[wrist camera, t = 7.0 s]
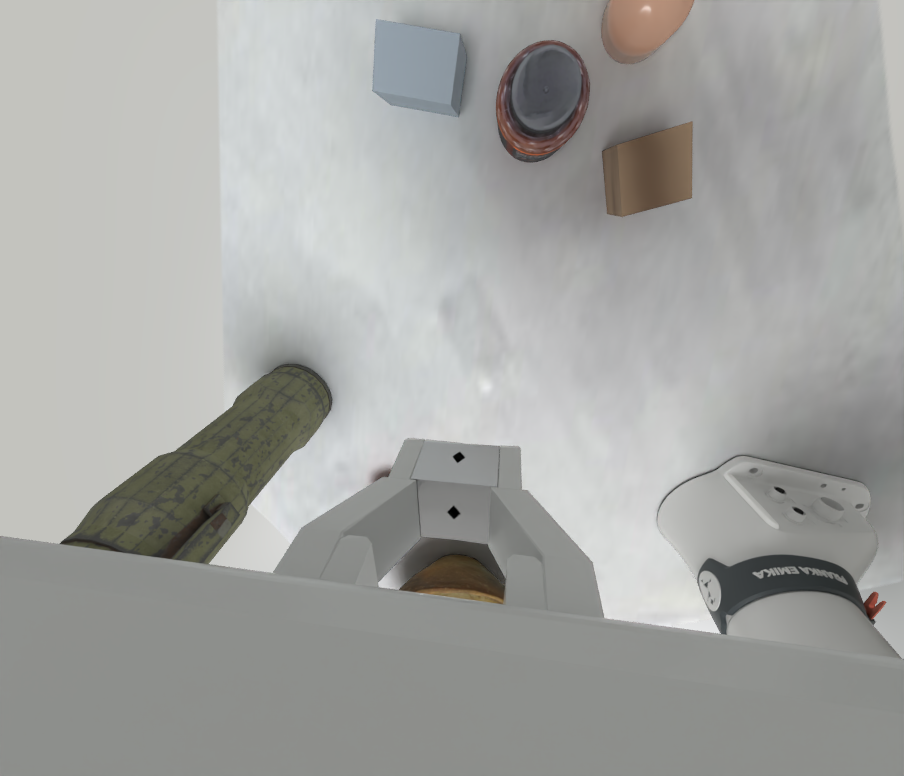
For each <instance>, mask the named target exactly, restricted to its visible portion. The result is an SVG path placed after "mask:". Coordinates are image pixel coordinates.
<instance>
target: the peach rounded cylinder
mask: <svg viewBox="0 0 904 776" xmlns="http://www.w3.org/2000/svg"><path fill="white" fill-rule="evenodd" d="M693 2H694V0H609V2H608V4H607V6H606V9H605V12H604V15H603V19H602V27H601V35H602V41H603V45H604V47H605V50H606V51H607V53H608V54H609V55H610V57H611V58H613V59H614V60H615V61H617V62H619V63H623V64H634V63H638V62H640V61H642V60H644V59H646V58H648V57H649V56H650V55H652V54H653V53H654V52H655V51H656V50H657V49H658V48H659V47H660V46H661V45H662V44H663V43H664V42H665V41H666V40H667V39H668V38H669V37H670V36H671V35H672V34H673V33H674V32H676V31H677V29H678V28H679V27H680V26H681V25H682V23H683V22H684V21H685V19H686V17H687V16H688V14H689V12H690V10H691V8H692V5H693Z"/></svg>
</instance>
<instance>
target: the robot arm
mask: <svg viewBox="0 0 904 776" xmlns="http://www.w3.org/2000/svg"><path fill="white" fill-rule="evenodd" d="M499 453H500V454H499ZM752 468H753V469H752ZM498 471H499V472H498ZM870 505H871V496H870V492H869V490H868V488H867V487H866V486H865V485H864V484H862V483H860V482H857V481H853V480H849V479H844V478H840V477H836V476H831V475H827V474H823V473H818V472H814V471H809V470H805V469H801V468H796V467H792V466H788V465H783V464H779V463H774V462H770V461H766V460H761V459H757V458H752V457H748V456H739V457H736V458H733V459H732V460H730V461H728V462H727V463H725V464H724V465H723V466H721V467H720V468H718V469H717V470H715V471H713V472H711V473H708V474H705V475H702V476H699V477H697V478H694V479H692V480H690V481H688V482H686V483H684V484H682V485H681V486H679V487H678V488H677V489H675V490H674V491H673V492H672V493H671V494H670V495H669V496H668V497H667V498H666V499H665V500H664V502H663V503H662V505H661V507H660V509H659V512H658V517H657V523H658V528H659V530H660V532H661V534H662V535H663V537H664V538H665V539H666V540H667V541H668V542H669V543H670V544H671V545H672V546H673V548H674V549H675V550H676V551H677V553H678V554H679V555H680V556H681V558H682V559H683V561H684V562H685V563H686V565H687V566H688V568H689V569H690V571H691V572H692V574H693V576H694V577H695V579H696V580H697V583H698V586H699V589H700V591H701V594H702V596H703V599H704V601H705V603H706V606H707V608H708V610H709V612H710V614H711V616H712V618H713V620H714V622H715V624H716V625H717V627H718V629H719V631H720V633H721V634H716V633H710V632H702V631H695V630H688V629H680V628H673V627H666V626H658V625H651V624H644V623H636V622H629V621H622V620H614V619H607V618H604V614H603V609H602V605H601V600H600V595H599V591H598V586H597V581H596V576H595V572H594V567H593V562H592V561H591V560H590V559H589V558H588V557H587V556H586V555H585V553H584V552H583V551H582V550H581V549H580V548H579V547H578V546H577V545H576V543H575V542H574V541H573V540H572V539H571V538H570V537H569V536H568V535H567V533H566V532H565V531H564V530H563V529H562V528H561V527H560V526H559V525H558V523H557V522H556V521H555V520H554V519H553V518H552V517H551V516H550V515H549V513H548V512H547V511H546V510H545V509H544V508H543V507H542V506H541V505H540V503H539V502H538V501H537V500H536V499H535V498H534V497H533V496H532V495H531V493H530V492H529V491H528V490H522V479H521V448H520V447H519V446H501V445H500V446H492V445H478V444H464V443H457V442H447V441H437V440H427V439H426V440H425V439H415V438H407V439H406V440H405V441H404V443H403V445H402V447H401V450H400V452H399V454H398V456H397V459H396V461H395V463H394V465H393V468H392V470H391V472H390V474H389V476H388V477H382V478H380V479H378V480H377V481H375V482H374V483H372V484H371V485H369V486H367V487H366V488H364V489H363V490H361V491H359V492H358V493H356V494H355V495H353V496H351V497H350V498H348V499H347V500H345V501H343V502H342V503H340V504H339V505H337V506H335V507H334V508H332V509H331V510H329V511H327V512H326V513H324V514H323V515H321V516H319V517H318V518H316V519H315V520H313V521H312V522H310V523H308V524H307V525H305V526H304V527H302V528H301V530H300V531H299V533H298V534H297V536H296V537H295V539H294V540H293V542H292V544H291V545H290V547H289V549H288V550H287V551H286V553H285V555H284V556H283V558H282V559H281V561H280V562H279V564H278V565H277V567H276V569H275V570H274V572H273V573H269V572H261V571H254V570H247V569H239V568H232V567H225V566H217V565H210V564H203V563H195V562H188V561H181V560H173V559H166V558H159V557H151V556H144V555H137V554H129V553H122V552H114V551H107V550H100V549H92V548H85V547H78V546H70V545H63V544H55V543H48V542H40V541H33V540H26V539H19V538H11V537H4V536H0V776H904V659H902V658H901V657H900V656H899V654H898V653H897V652H896V651H895V650H894V649H893V648H892V646H890V644H889V643H888V642H887V641H886V640H885V638H884V637H883V636H882V635H881V634H880V633H879V631H878V630H877V629H876V628H875V627H874V626H873V625H874V624H875V621H874V619H873V618H874V617H875V616H876V615H877V614H878V612H879V611H880V610H881V609H882V608H883V606H884V605H885V603H886V602H885V601H882V602H880V603H879V604H878V605H877V606H875V604H876V603H877V599H878V593H877V592H873V593H872V594H871V595H870V596H869V598H868V599H867V600H866V601H865V602H864V604H863V601H862V598H861V596H860V593H859V590H858V588H857V586H856V585H857V584H858V583H859V581H860V580H861V578H862V577H863V576H864V574H865V573H866V571H867V570H868V568H869V566H870V565H871V563H872V562H873V560H874V557H875V555H876V552H877V549H878V539H877V535H876V533H875V531H874V529H873V527H872V526H871V525H870V523H869V522H868V521H867V520H866V517H867V515H868V512H869V509H870ZM420 537H430V538H441V539H453V540H460V541H467V542H474V543H481V544H488V547H489V549H490V550H491V552H492V554H493V556H494V558H495V560H496V562H497V564H498V565H499V567H500V569H501V571H502V573H503V575H504V577H505V591H504V602H503V604H497V603H490V602H482V601H475V600H468V599H460V598H453V597H446V596H438V595H431V594H424V593H416V592H409V591H401V590H394V589H387V588H379V587H378V582H379V581H380V580H381V579H382V578H383V577H384V576H385V575H386V574H387V573H388V572H389V571H390V570H391V569H392V568H393V567H394V566H395V565H396V563H397V562H398V561H399V560H400V559H401V558H402V557H403V556H404V555H405V554H406V553H407V552H408V551H409V550H410V549H411V548H412V547H413V546H414V545H415V544H416V543H417V542H418V541H419V540H420Z"/></svg>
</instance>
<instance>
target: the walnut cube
mask: <svg viewBox="0 0 904 776" xmlns="http://www.w3.org/2000/svg"><path fill="white" fill-rule="evenodd" d="M602 156H603V169H604V181H605V193H606V205H607V214H610V215H615V216H620V217H623V216H627V215H631V214H635V213H638V212H642V211H646V210H649V209H653V208H657V207H661V206H664V205H668V204H672V203H676V202H679V201H683V200H687V199H690V198H692V122H688V123H685V124H682V125H679V126H676V127H672V128H669V129H666V130H663V131H660V132H656V133H653V134H650V135H647V136H644V137H640V138H637V139H634V140H631V141H627V142H624V143H621V144H618V145H615V146H613V147H611V148H609V149H606V150H604V151H602Z"/></svg>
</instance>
